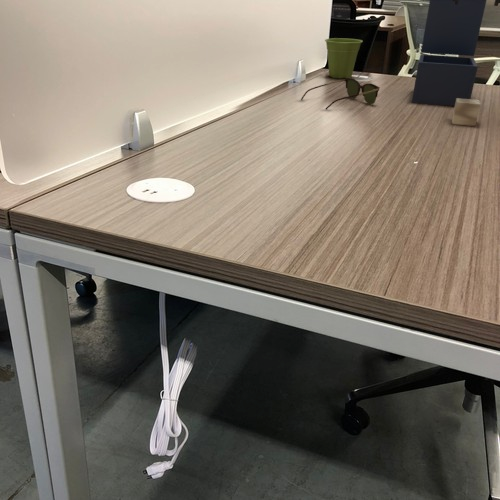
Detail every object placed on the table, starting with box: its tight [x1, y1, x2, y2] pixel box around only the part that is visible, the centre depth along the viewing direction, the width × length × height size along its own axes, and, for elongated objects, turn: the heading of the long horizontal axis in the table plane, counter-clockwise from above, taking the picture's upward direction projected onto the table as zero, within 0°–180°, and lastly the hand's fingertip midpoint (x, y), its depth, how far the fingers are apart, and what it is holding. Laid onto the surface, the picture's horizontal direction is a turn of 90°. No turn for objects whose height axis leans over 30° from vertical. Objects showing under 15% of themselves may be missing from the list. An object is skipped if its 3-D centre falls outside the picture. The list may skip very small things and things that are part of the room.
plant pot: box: [324, 37, 363, 80], centre depth 162 cm, size 12×12×11 cm
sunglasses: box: [300, 77, 380, 110], centre depth 128 cm, size 14×15×5 cm
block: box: [451, 98, 481, 127], centre depth 112 cm, size 5×5×5 cm
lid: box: [420, 0, 487, 57], centre depth 137 cm, size 19×14×6 cm
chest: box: [411, 53, 479, 107], centre depth 135 cm, size 18×14×10 cm
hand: (475, 5), depth 115 cm, fingers open, 8 cm apart
